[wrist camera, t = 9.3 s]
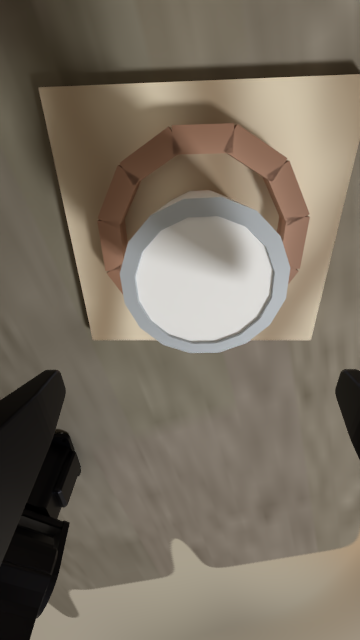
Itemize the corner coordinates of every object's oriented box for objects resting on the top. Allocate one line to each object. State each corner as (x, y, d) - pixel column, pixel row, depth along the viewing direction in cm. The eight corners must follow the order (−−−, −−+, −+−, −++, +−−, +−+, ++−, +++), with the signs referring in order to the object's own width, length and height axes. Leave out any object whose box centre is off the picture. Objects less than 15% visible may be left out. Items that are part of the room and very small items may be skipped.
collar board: (96, 332, 23) (86, 352, 21) (46, 90, 15) (23, 82, 13) (306, 332, 22) (318, 352, 20) (364, 77, 15) (394, 66, 12)
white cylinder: (282, 220, 17) (330, 260, 11) (215, 308, 20) (224, 377, 14) (180, 150, 16) (172, 153, 10) (125, 257, 19) (93, 311, 13)
